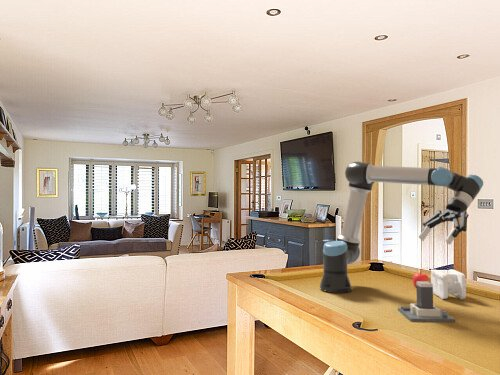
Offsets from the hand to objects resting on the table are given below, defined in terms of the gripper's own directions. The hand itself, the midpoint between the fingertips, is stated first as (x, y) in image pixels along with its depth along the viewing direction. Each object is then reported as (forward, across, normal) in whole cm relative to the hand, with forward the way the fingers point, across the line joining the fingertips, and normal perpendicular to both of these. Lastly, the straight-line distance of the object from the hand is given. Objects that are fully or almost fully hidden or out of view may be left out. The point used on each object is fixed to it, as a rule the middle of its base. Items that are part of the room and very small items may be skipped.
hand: (433, 240), depth 160 cm
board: (+29, -7, -10) cm, 31 cm away
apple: (+4, +28, -35) cm, 46 cm away
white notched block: (+6, +10, -33) cm, 35 cm away
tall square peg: (+28, -7, -10) cm, 30 cm away
